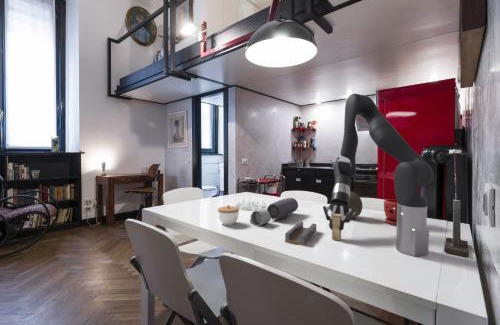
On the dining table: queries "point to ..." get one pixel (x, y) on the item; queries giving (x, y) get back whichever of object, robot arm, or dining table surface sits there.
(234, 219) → the lidded jar
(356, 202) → the cantaloupe
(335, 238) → the light brown wooden block
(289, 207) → the bluetooth speaker
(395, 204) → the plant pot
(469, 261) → the dining table surface
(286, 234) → the door track
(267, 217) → the ceramic mug
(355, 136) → the robot arm
